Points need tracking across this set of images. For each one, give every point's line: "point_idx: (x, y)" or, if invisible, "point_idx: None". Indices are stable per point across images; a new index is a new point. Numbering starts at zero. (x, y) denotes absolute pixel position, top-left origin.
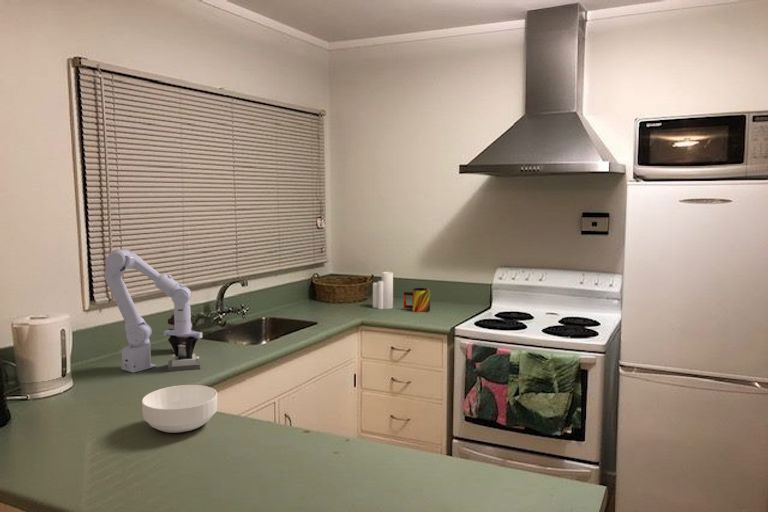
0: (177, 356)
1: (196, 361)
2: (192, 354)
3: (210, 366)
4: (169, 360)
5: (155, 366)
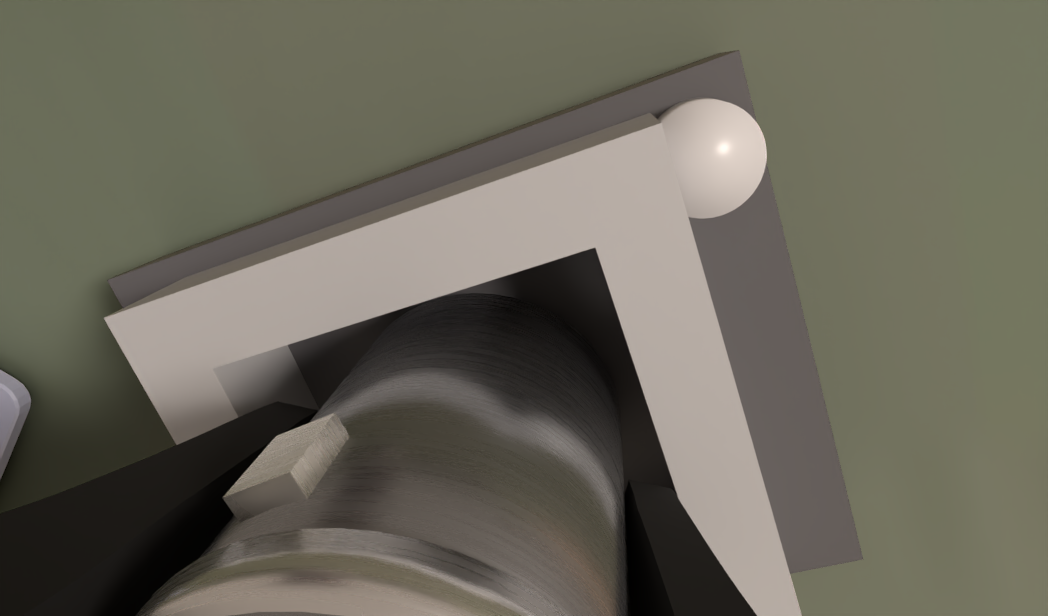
0: (258, 350)
1: (737, 350)
2: (605, 240)
3: (1025, 360)
4: (123, 281)
5: (27, 410)
